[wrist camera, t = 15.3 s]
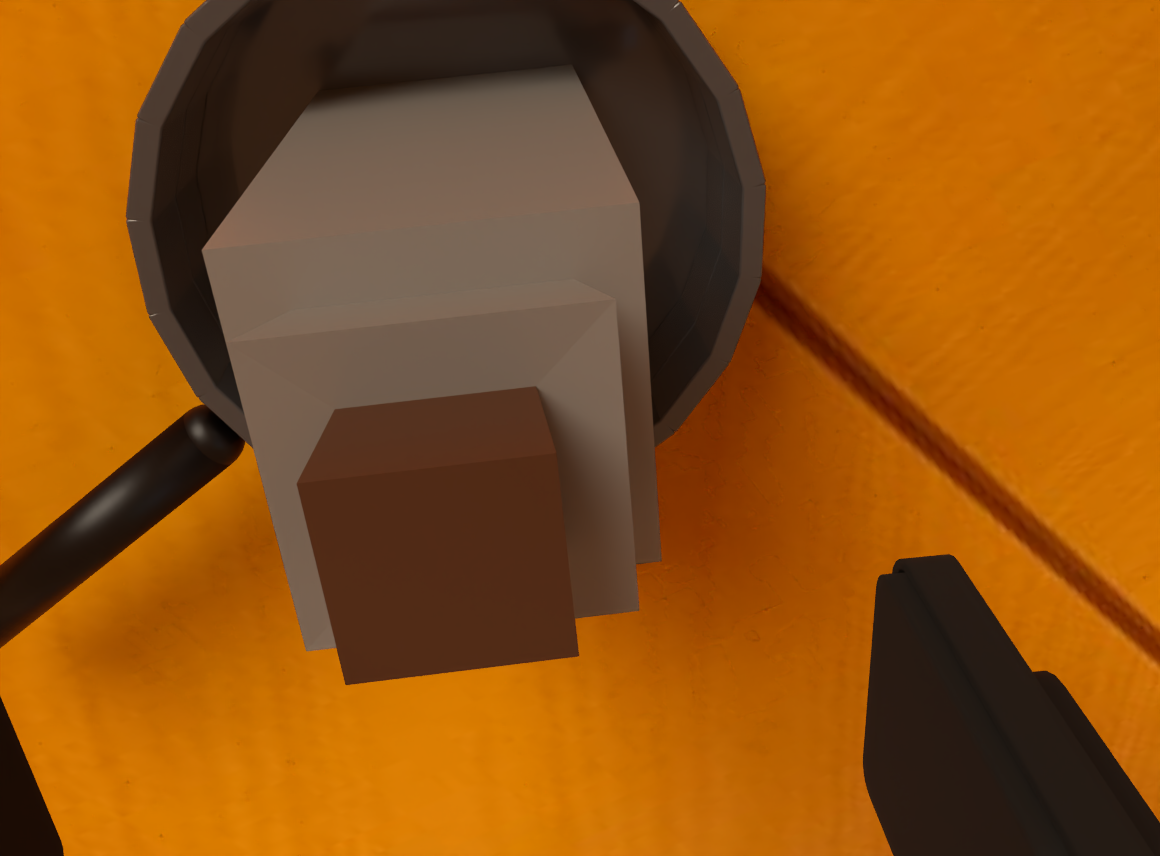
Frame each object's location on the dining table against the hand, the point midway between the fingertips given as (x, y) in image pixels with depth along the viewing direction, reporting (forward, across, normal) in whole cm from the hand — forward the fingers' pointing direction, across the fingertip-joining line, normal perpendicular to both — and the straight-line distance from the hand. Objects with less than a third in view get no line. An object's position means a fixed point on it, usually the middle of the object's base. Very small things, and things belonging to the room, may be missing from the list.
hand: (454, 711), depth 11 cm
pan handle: (+18, +12, +8) cm, 23 cm away
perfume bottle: (+21, 0, 0) cm, 21 cm away
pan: (+21, +1, 0) cm, 21 cm away
